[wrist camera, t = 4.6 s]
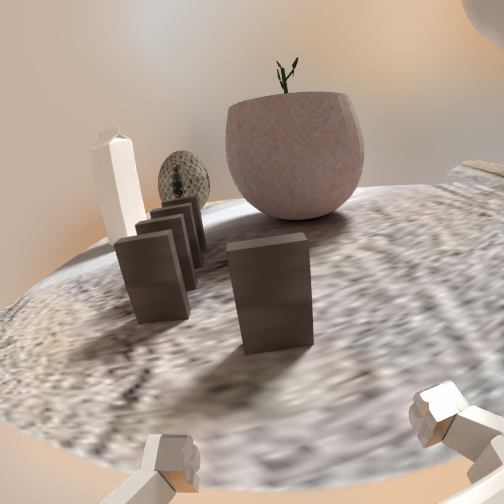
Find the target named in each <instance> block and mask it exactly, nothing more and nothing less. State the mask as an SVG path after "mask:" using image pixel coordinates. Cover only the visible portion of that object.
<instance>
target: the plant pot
mask: <svg viewBox="0 0 504 504" xmlns="http://www.w3.org/2000/svg"><path fill="white" fill-rule="evenodd" d="M276 62H277V64H278V66H279V67H280V68H281V65H280V64H279V63H278V61H276ZM297 62H298V58H296V60H295V61H294V63H293V65H292V66H293V69H294V68H295V67H296V65H297ZM277 72H278V69H277ZM292 73H293V74H294V70H292V71H291V72H290V74H289V75H288V76H287V78H286V76H285V70H284V68H281V74H282V81H283V83H282V81H280V84H281V86H282V88H283V89H284V94H278V95H271V96H265V97H259V98H255V99H250V100H246V101H243V102H239V103H237V104H234V105H232V106H231V107H229V110H228V116H227V126H226V157H227V162H228V167H229V170H230V173H231V176H232V178H233V180H234V183H235V185H236V186H237V188H238V190H239V192H240V193H241V194H242V196H243V197H244V198H245V199H246V200H247V201H248V202H249V203H250V204H251V205H252V206H254V207H255V208H256V209H258V210H259V211H261V212H263V213H265V214H267V215H269V216H272V217H276V218H280V219H286V220H305V219H312V218H317V217H320V216H323V215H326V214H328V213H330V212H332V211H334V210H336V209H337V208H338V207H340V206H341V205H342V204H343V203H344V202H346V201H347V200H348V199H349V197H350V196H351V195H352V194H353V192H354V191H355V189H356V187H357V185H358V182H359V179H360V177H361V173H362V168H363V161H364V144H363V138H362V132H361V128H360V124H359V121H358V118H357V116H356V113H355V110H354V107H353V105H352V102H351V100H350V98H349V96H348V95H346V94H341V93H334V92H299V93H298V92H297V93H288V90H287V83H286V80H287V79H288V78H289V76H290V75H291V74H292ZM278 78H279V80H281V79H280V75H279V72H278Z"/></svg>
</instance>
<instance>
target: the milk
mask: <svg viewBox="0 0 504 504" xmlns="http://www.w3.org/2000/svg"><path fill="white" fill-rule="evenodd" d="M90 155H91V162H92V167H93V173H94V178H95V183H96V188H97V193H98V198H99V202H100V207H101V211H102V215H103V219H104V223H105V227H106V231H107V235H108V239H109V243H110V246H114V243H115V242H116V241H117V240H119V239H120V238H124V237H129V236H135V235H137V233H136V229H135V224H137V223H138V222H139V221H144V220H147V219H146V215H145V210H144V205H143V200H142V196H141V191H140V186H139V180H138V175H137V170H136V164H135V159H134V152H133V146H132V141H131V139H129V138H127V137H126V136H124V135H122V134H120V133H119V127H118V126H114V127H112V128H109V129H107V130H104V131H102V132H100V133H99V141H98V142H97V143H96V144H95V145H94V147H93V148H92V149H91V150H90Z"/></svg>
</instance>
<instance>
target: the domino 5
mask: <svg viewBox="0 0 504 504" xmlns="http://www.w3.org/2000/svg"><path fill="white" fill-rule="evenodd" d="M226 253H227V259H228V265H229V270H230V276H231V282H232V287H233V293H234V298H235V303H236V309H237V314H238V319H239V325H240V330H241V335H242V340H243V345H244V351H245V355H247V354H254V353H262V352H269V351H275V350H282V349H288V348H294V347H300V346H306V345H312V344H314V339H313V312H312V292H311V274H310V259H309V245H308V239H307V237H306V236H305V235H304V233H303V232H300V233H293V234H286V235H279V236H272V237H265V238H258V239H251V240H244V241H237V242H230V243H227V247H226Z"/></svg>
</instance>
